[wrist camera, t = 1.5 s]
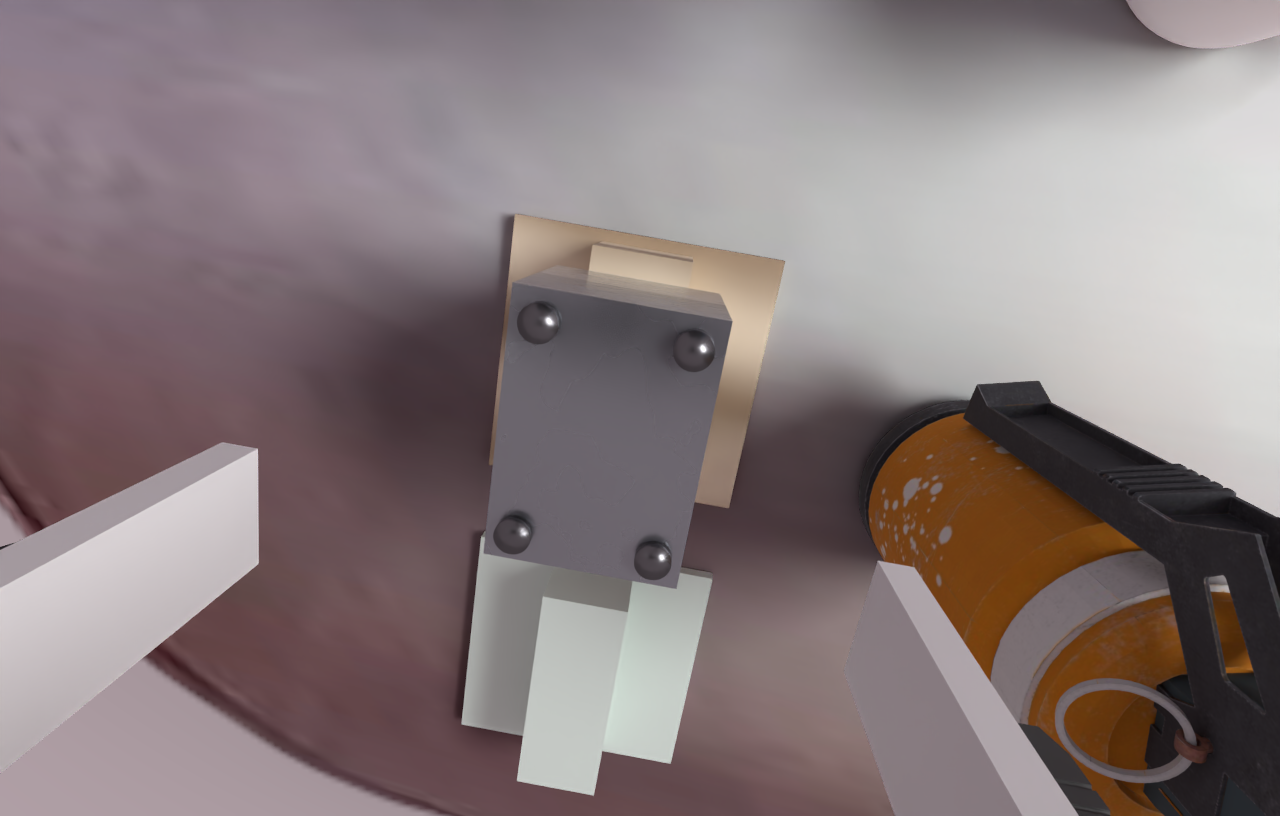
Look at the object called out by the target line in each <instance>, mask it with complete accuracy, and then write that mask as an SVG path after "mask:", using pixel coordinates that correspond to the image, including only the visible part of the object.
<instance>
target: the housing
mask: <svg viewBox="0 0 1280 816" xmlns="http://www.w3.org/2000/svg"><path fill="white" fill-rule="evenodd" d="M732 322H733V321H732V319H731V317H730V314H729V312H728V310H727V308H726V306H725V303H724V301H723V299H722V297H721V295H720V294H719V293H714V292H708V291H702V290H697V289H691V288H685V287H680V286H674V285H668V284H663V283H657V282H651V281H646V280H640V279H634V278H629V277H623V276H617V275H612V274H606V273H600V272H594V271H589V270H583V269H577V268H572V267H566V266H560V265H556V266H554V267H551V268H549V269H546V270H543V271H541V272H538V273H536V274H533V275H530V276H528V277H525V278H523V279H520V280H517V281H515V282H512V290H511V300H510V309H509V318H508V328H507V337H506V346H505V356H504V365H503V374H502V384H501V393H500V402H499V412H498V421H497V430H496V440H495V449H494V458H493V468H492V477H491V486H490V496H489V505H488V514H487V524H486V533H485V542H484V552H483V554H488V555H494V556H499V557H505V558H510V559H516V560H521V561H526V562H532V563H537V564H543V565H548V566H554V567H559V568H565V569H570V570H575V571H581V572H586V573H592V574H597V575H603V576H608V577H613V578H619V579H624V580H630V581H635V582H641V583H646V584H652V585H657V586H662V587H668V588H673V589H677V584H678V579H679V574H680V570H681V565H682V560H683V555H684V551H685V546H686V541H687V536H688V532H689V527H690V522H691V517H692V512H693V508H694V503H695V498H696V493H697V489H698V484H699V479H700V474H701V470H702V465H703V460H704V455H705V451H706V446H707V441H708V436H709V432H710V427H711V422H712V417H713V413H714V408H715V403H716V398H717V394H718V389H719V384H720V379H721V375H722V370H723V365H724V360H725V356H726V351H727V346H728V341H729V337H730V332H731V327H732Z"/></svg>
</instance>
